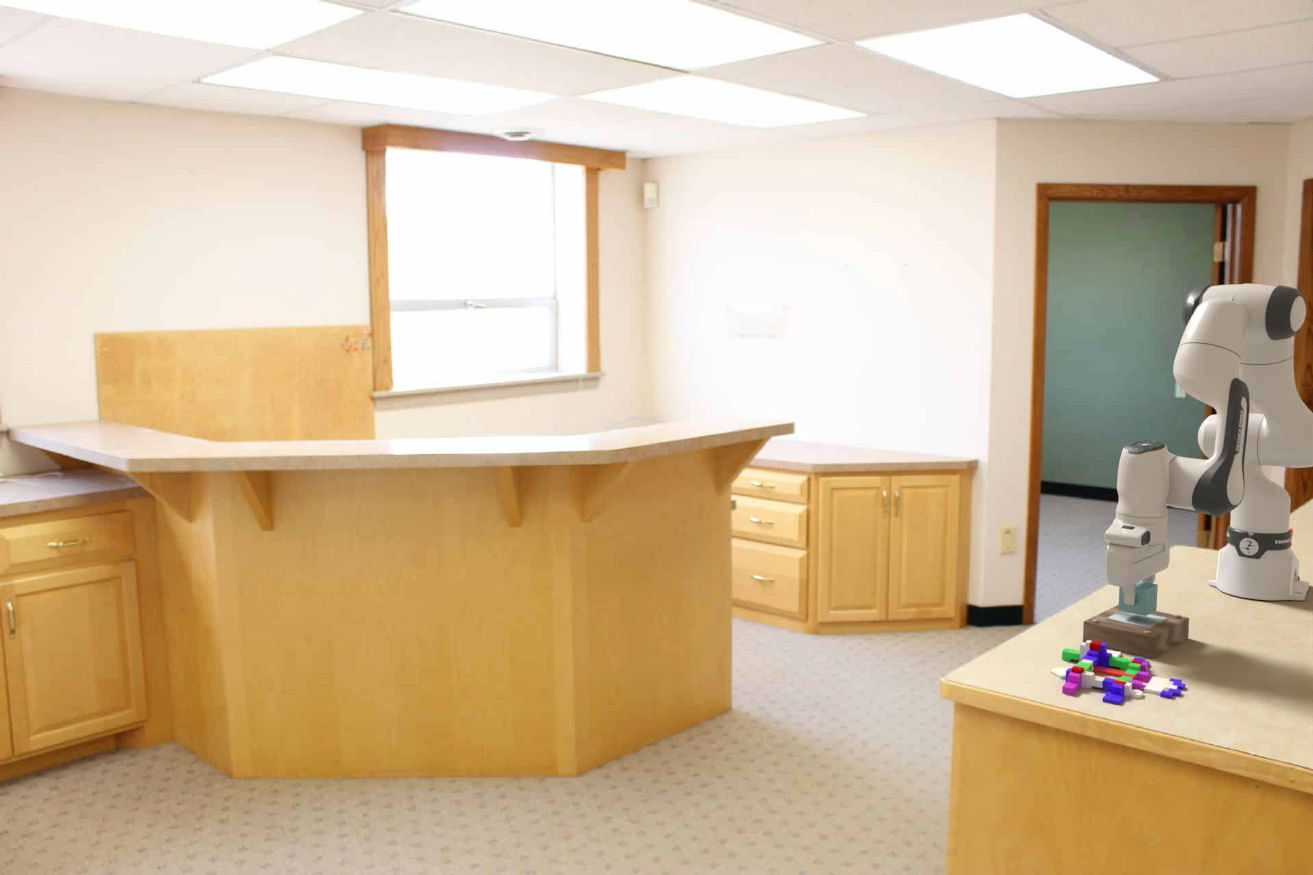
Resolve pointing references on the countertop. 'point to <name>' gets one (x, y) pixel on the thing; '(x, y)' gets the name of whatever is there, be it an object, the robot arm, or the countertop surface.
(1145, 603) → the teal block
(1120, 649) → the plinth
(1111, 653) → the building block set
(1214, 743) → the countertop surface
